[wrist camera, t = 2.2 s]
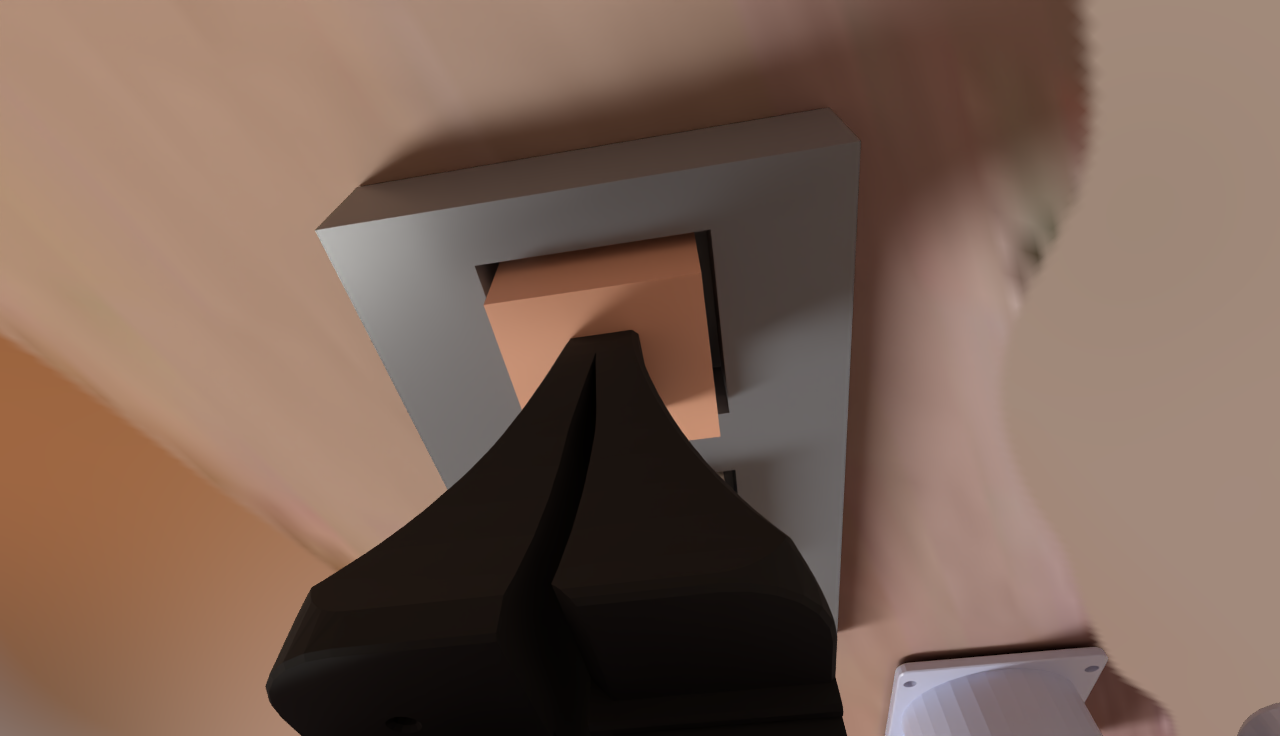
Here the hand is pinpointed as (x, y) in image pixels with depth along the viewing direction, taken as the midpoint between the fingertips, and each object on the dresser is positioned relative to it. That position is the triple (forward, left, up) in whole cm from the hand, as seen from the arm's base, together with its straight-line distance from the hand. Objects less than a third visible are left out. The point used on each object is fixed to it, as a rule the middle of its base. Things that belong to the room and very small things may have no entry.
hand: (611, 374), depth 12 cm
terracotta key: (0, 0, -2) cm, 2 cm away
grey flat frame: (-7, 0, -3) cm, 7 cm away
